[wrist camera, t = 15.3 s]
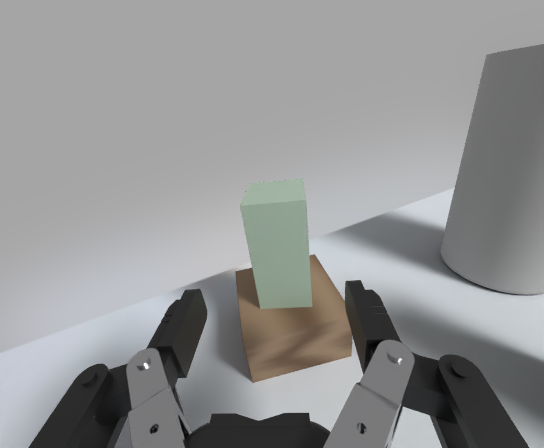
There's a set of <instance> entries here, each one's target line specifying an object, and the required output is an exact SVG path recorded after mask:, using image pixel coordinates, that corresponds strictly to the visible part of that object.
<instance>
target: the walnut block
mask: <svg viewBox="0 0 544 448" xmlns="http://www.w3.org/2000/svg"><path fill="white" fill-rule="evenodd" d="M309 258H310V275H311V292H312V307H297V308H271V309H260V304H259V299H258V294H257V289H256V284H255V279H254V274H253V269H252V268H249V269H244V270H240V271H235V273H236V283H237V292H238V302H239V312H240V321H241V331H242V340H243V346H244V350H245V353H246V357H247V361H248V365H249V369H250V373H251V377H252V381H253V383H254V382H257V381H261V380H265V379H269V378H272V377H276V376H280V375H283V374H287V373H291V372H294V371H298V370H302V369H305V368H309V367H313V366H316V365H320V364H324V363H328V362H331V361H335V360H339V359H342V358H346V357H350V356H351V352H352V332H351V328H350V325H349V321H348V317H347V314H346V308H345V301H344V300H343V298H342V296H341V295H340V293H339V292H338V290H337V289H336V287H335V285H334V284H333V282H332V281H331V279H330V278H329V276H328V274H327V273H326V271H325V270H324V268H323V267H322V265H321V263H320V262H319V260H318V259H317V257H316V256H315V254H314V255H310V256H309Z"/></svg>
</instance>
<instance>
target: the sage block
mask: <svg viewBox="0 0 544 448" xmlns="http://www.w3.org/2000/svg"><path fill="white" fill-rule="evenodd" d="M240 207H241V213H242V218H243V223H244V228H245V233H246V238H247V243H248V248H249V254H250V259H251V264H252V269H253V274H254V279H255V284H256V289H257V294H258V299H259V304H260V309H271V308H297V307H312V292H311V275H310V258H309V242H308V225H307V208H306V197H305V190H304V184H303V179H295V180H284V181H273V182H263V183H252V184H249V186H248V188H247V191H246V193H245V195H244V198H243V200H242V202H241V205H240Z"/></svg>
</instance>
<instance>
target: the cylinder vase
mask: <svg viewBox="0 0 544 448" xmlns="http://www.w3.org/2000/svg"><path fill="white" fill-rule="evenodd" d="M440 253H441V256H442V259H443V260H444V262H445V263H446V264H447V265H448V267H449V268H451V269H452V270H453V271H454V272H456V273H457V274H459V275H460V276H462V277H463V278H465V279H467V280H469V281H471V282H474V283H476V284H478V285H481V286H484V287H487V288H490V289H493V290H497V291H501V292H506V293H513V294H523V295H534V294H543V293H544V44H542V45H537V46H530V47H525V48H519V49H513V50H508V51H502V52H497V53H493V54H488V55H486V59H485V63H484V67H483V72H482V76H481V80H480V84H479V89H478V93H477V97H476V101H475V105H474V110H473V114H472V118H471V122H470V126H469V131H468V135H467V139H466V143H465V148H464V152H463V156H462V160H461V164H460V169H459V174H458V177H457V181H456V185H455V190H454V194H453V198H452V202H451V206H450V211H449V215H448V219H447V223H446V228H445V232H444V236H443V240H442V244H441V249H440Z"/></svg>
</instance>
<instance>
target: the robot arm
mask: <svg viewBox="0 0 544 448" xmlns="http://www.w3.org/2000/svg"><path fill="white" fill-rule="evenodd" d="M345 308H346V314H347V317H348V321H349V325H350V328H351V332H352V335H353V339H354V343H355V346H356V350H357V353H358V357H359V360H360V364H361V368H362V371H363V377H362V379H361V381H360V382H359V383H356V384H355V386H354V387H353V389H352V391H351V393H350V395H349V397H348V399H347V401H346V403H345V405H344V407H343V409H342V411H341V413H340V415H339V417H338V419H337V421H336V423H335V425H334V427H333V429H332V431H331V432H330V431H329V430H327V429H326V428H324V427H323V426H321V425H319V424H317V423H315V422H311V421H310V418H309V413H283V414H280V415H277V416H274V417H271V418H267V419H264V420H261V421H257V420H254V419H251V418H248V417H244V416H241V415H238V414H212V415H211V420H210V423H207V424H205V425H203V426H201V427H199V428H198V429H196V430H195V431H193V432H192V431H191V429H190V427H189V424H188V422H187V419H186V416H185V413H184V410H183V406H182V403H181V400H180V397H179V394H178V391H177V388H176V386H175V384H176V382H177V379H178V378H186V377H187V374H188V371H189V369H190V366H191V363H192V360H193V357H194V354H195V351H196V348H197V346H198V343H199V340H200V337H201V334H202V331H203V328H204V325H205V323H206V320H207V308H206V305H205V302H204V299H203V295H202V292H201V290H200V289H191V290H185V291H184V293H183V295H182V297H181V299H180V300H176V301H175V302H174V303H173V304H172V305H171V306H170V307H169V308H168V310H167V312H166V313H165V317H163V319H162V321H161V323H160V325H159V326H158V328H157V330H156V332H155V334H154V336H153V337H152V339H151V341H150V343H149V345H148V347H147V348H146V349H144V350H142V351H140V352H138V353H137V354H136V355H135V356H133V358H132V359H131V360H130V361H129V363H128V364H125V365H122V366H119V367H116V368H113V369H110V370H109V369H108V368H107V366H106V365H104V364H96V365H93V366H91V367H89V368H87V369H86V370H84V371H83V372H82V373H81V374H79V375H78V377H77V378H76V379H75V380H74V382H73V383H72V385H71V386H70V388H69V389H68V391H67V392H66V393H65V395H64V396H63V398H62V399H61V401H60V402H59V404H58V405H57V407H56V408H55V410H54V411H53V412H52V414H51V415H50V417H49V418H48V420H47V421H46V423H45V424H44V426H43V427H42V429H41V430H40V432H39V433H38V434H37V436H36V437H35V439H34V440H33V442H32V443H31V445H30V446H29V448H114V446H115V444H116V442H117V439H118V437H119V435H120V433H121V430H122V428H123V426H124V423H125V421H126V419H127V417H128V419H129V426H130V434H131V442H132V448H390V447H391V444H392V441H393V438H394V435H395V432H396V429H397V425H398V422H399V419H400V416H401V413H402V410H403V407H406V408H409V409H412V410H415V411H418V412H421V413H424V414H428V415H430V417H431V420H432V423H433V425H434V428H435V430H436V433H437V435H438V438H439V440H440V443H441V445H442V448H529V447H528V445H527V443H526V442H525V440H524V439H523V437H522V436H521V434H520V432H519V431H518V429H517V428H516V426H515V425H514V423H513V421H512V420H511V418H510V417H509V415H508V414H507V412H506V411H505V409H504V407H503V406H502V404H501V403H500V401H499V400H498V398H497V396H496V395H495V393H494V392H493V390H492V389H491V387H490V385H489V384H488V382H487V381H486V379H485V378H484V376H483V374H482V373H481V371H480V370H479V369H478V368H477V367H476V366H475V365H474V364H473V363H472V362H470V361H469V360H467V359H465V358H463V357H461V356H458V355H451V354H450V355H444V356H442V357H441V358H440V360H439V361H438V360H434V359H430V358H426V357H423V356H419V355H417V354H415V353H413V352H411V350H410V349H409V348H408V347H407V346H405V345H404V344H402V342H401V341H400V339H399V337H398V334H397V332H396V330H395V328H394V326H393V324H392V322H391V319H390V317H389V315H388V314H387V311H386V309H385V307H384V305H383V302H382V300H381V298H380V296H379V295H377V294H376V293H375V292H374V291H373V290H365V289H364V287H363V284H362V282H361V280H355V281H346V283H345Z"/></svg>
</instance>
